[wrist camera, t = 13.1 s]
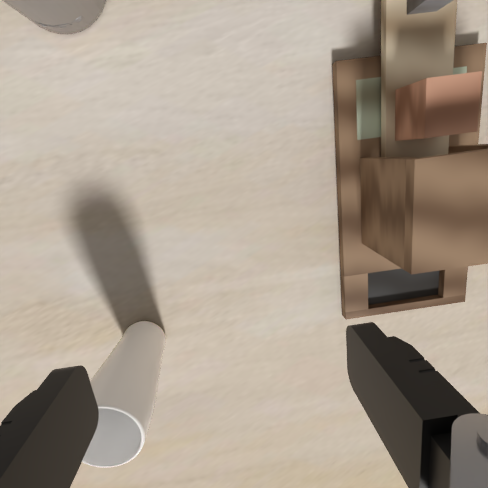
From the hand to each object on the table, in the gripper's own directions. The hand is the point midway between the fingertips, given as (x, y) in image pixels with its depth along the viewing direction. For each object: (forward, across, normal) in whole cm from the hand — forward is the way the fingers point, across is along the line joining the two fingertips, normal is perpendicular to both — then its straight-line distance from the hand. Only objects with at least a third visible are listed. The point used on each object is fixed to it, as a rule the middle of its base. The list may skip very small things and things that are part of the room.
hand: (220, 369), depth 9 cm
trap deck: (+28, -22, +1) cm, 36 cm away
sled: (+26, -22, -10) cm, 36 cm away
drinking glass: (+28, +12, +15) cm, 34 cm away
